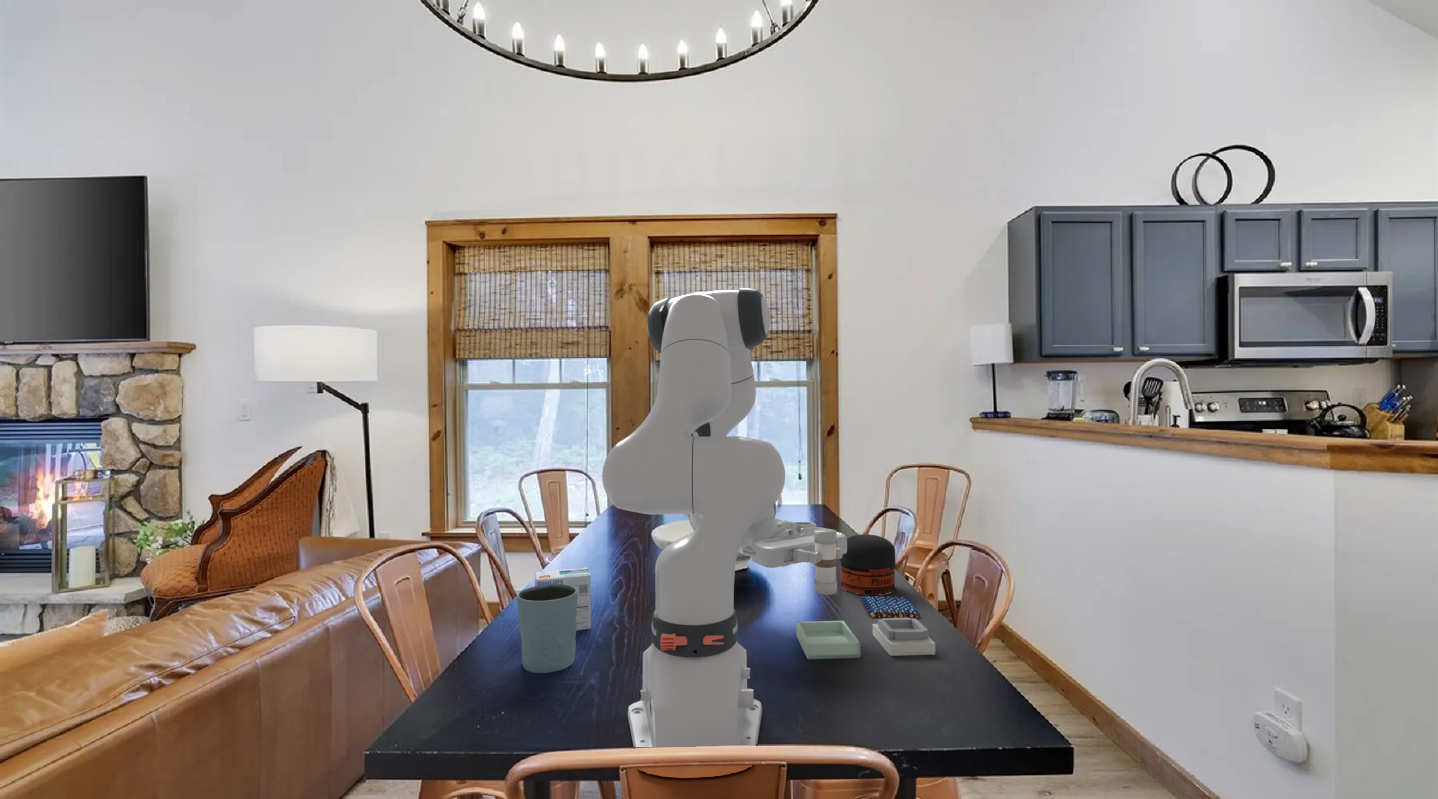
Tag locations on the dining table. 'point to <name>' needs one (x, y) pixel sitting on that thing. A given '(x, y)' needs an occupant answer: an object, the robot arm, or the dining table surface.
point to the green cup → (547, 627)
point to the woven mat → (889, 606)
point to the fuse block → (903, 637)
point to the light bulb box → (578, 580)
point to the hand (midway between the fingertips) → (829, 556)
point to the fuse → (826, 561)
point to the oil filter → (868, 565)
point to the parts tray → (827, 640)
